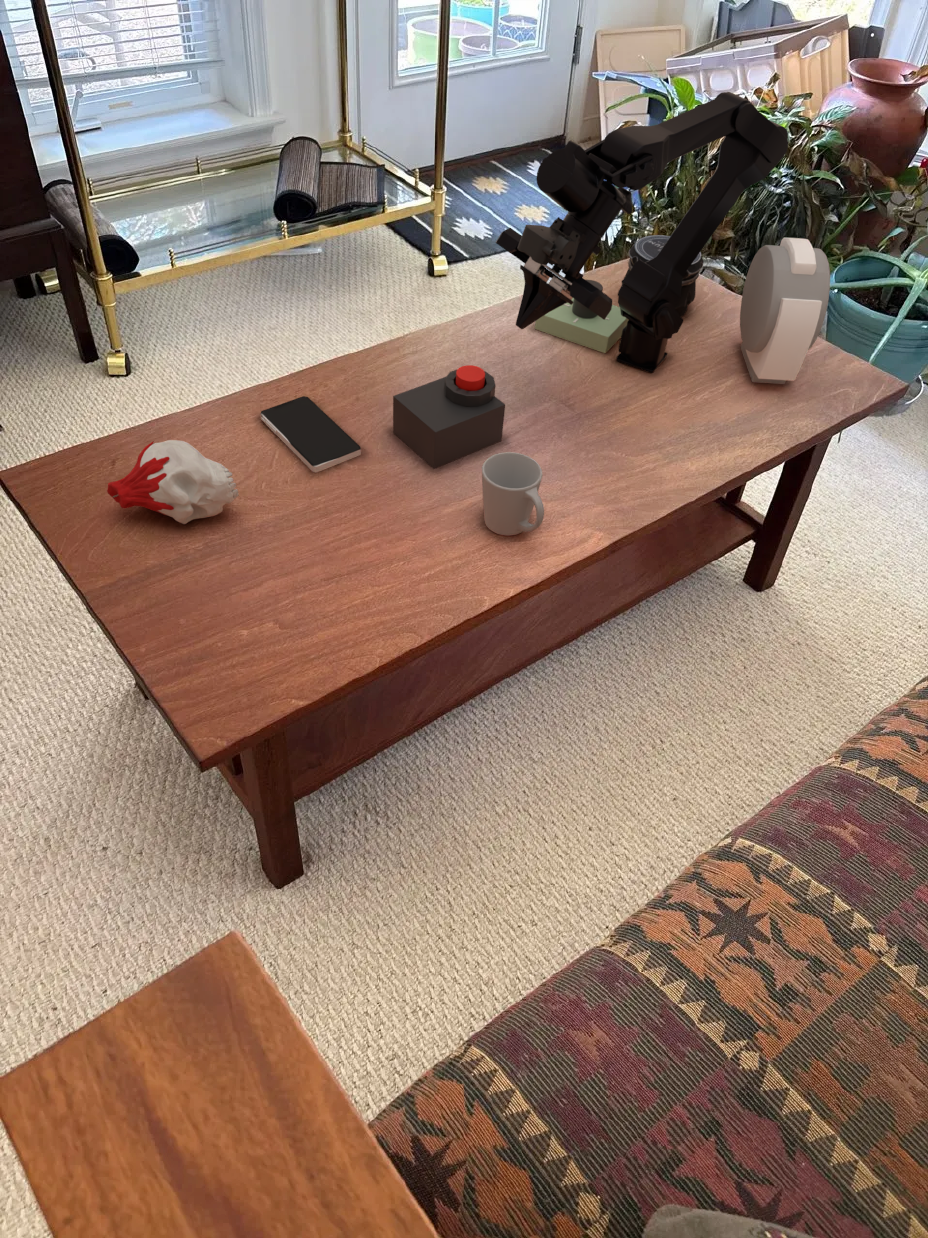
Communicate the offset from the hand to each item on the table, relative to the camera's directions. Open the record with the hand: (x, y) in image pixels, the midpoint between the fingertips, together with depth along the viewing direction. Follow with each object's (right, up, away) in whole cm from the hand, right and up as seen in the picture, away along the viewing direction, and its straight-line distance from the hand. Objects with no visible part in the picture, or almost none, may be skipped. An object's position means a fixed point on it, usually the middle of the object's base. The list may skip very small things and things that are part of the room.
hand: (518, 327), depth 133 cm
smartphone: (-29, -15, +1) cm, 33 cm away
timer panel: (+12, +8, +26) cm, 30 cm away
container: (+26, +14, +33) cm, 44 cm away
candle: (-45, -27, -11) cm, 53 cm away
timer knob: (+12, +10, +24) cm, 28 cm away
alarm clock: (+41, 0, +21) cm, 46 cm away
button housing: (-10, -15, +3) cm, 18 cm away
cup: (-2, -29, -10) cm, 31 cm away
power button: (-7, -8, -1) cm, 11 cm away
